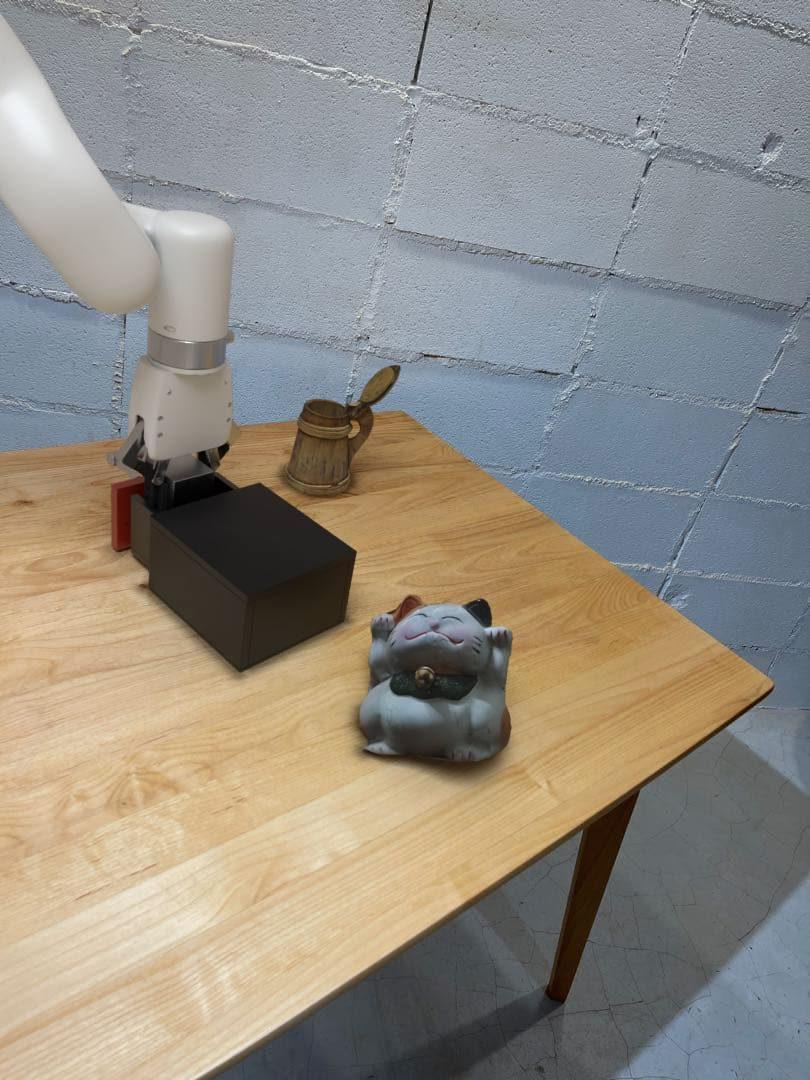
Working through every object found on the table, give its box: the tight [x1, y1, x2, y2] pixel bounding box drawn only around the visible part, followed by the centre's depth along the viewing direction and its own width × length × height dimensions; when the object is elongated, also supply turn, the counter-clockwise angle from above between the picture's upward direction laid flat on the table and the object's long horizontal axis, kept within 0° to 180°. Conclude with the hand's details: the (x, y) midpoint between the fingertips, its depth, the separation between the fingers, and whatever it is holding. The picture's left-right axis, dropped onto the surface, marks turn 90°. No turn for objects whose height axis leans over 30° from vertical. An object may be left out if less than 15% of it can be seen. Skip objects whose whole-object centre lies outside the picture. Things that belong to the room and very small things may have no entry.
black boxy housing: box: [148, 481, 358, 674], centre depth 84 cm, size 16×14×10 cm
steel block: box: [153, 454, 214, 510], centre depth 89 cm, size 5×5×5 cm
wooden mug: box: [283, 364, 402, 496], centre depth 109 cm, size 9×14×18 cm, turn 103°
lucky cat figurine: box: [358, 593, 514, 763], centre depth 75 cm, size 15×12×14 cm
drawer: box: [105, 445, 240, 569], centre depth 90 cm, size 20×13×8 cm, turn 47°
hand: (179, 502), depth 90 cm, fingers closed on steel block, 5 cm apart
